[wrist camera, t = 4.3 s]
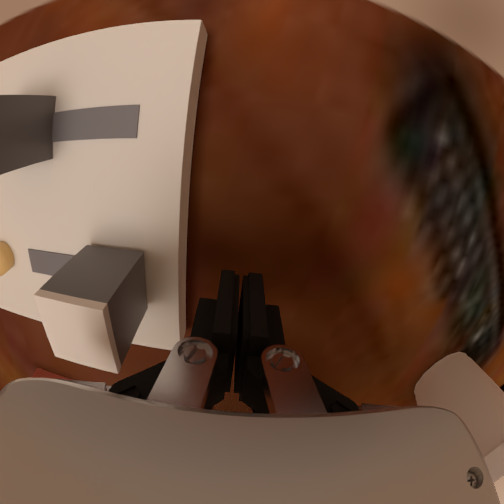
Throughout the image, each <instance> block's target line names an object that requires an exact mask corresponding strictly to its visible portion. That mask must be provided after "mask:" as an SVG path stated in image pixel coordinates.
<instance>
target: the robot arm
mask: <svg viewBox="0 0 504 504" xmlns="http://www.w3.org/2000/svg"><path fill="white" fill-rule="evenodd" d="M239 276H240V275H235V271H230V270H222V272H221V278H220V285H219V291H218V298H217V300H215V299H207V298H200V299H199V303H198V307H197V311H196V315H195V320H194V324H193V328H192V332H191V337H187V338H184V339H181V340H180V341H178V342H177V343H176V344H175V345H174V347H173V349H172V351H171V353H170V355H169V357H168V359H167V360H166V361H163V362H161V363H159V364H157V365H155V366H152V367H150V368H148V369H146V370H144V371H141V372H139V373H137V374H134V375H132V376H130V377H127V378H125V379H123V380H120V381H118V382H117V383H115V384H113V385H112V386H106V383H100V382H87V381H76V380H66V379H51V378H43V377H41V378H21V379H17V380H14V381H12V382H10V383H9V384H7V385H6V386H5V387H4V388H3V389H2V390H1V391H0V504H500V501H499V498H498V495H497V492H496V489H495V486H494V483H493V481H492V478H491V475H490V473H489V470H488V468H487V465H486V463H485V460H484V458H483V456H482V454H481V452H480V449H479V447H478V445H477V443H476V441H475V439H474V438H473V436H472V434H471V432H470V431H469V429H468V428H467V426H466V425H465V423H464V422H463V421H462V419H461V418H460V417H459V416H458V415H457V414H455V413H454V412H452V411H450V410H447V409H444V408H440V407H434V406H419V405H416V406H386V405H374V404H364V403H362V404H361V406H357V405H356V403H354V402H353V401H352V400H350V399H349V398H347V397H345V396H344V395H342V394H341V393H339V392H337V391H336V390H334V389H333V388H331V387H329V386H328V385H326V384H325V383H323V382H321V381H320V380H318V379H317V378H315V377H314V376H312V375H311V373H310V371H309V369H308V366H307V364H306V362H305V359H304V357H303V356H302V354H301V353H300V352H299V351H298V350H296V349H295V348H293V347H291V346H287V345H285V341H284V335H283V329H282V323H281V317H280V311H279V307H278V306H276V305H265V296H264V287H263V278H262V274H258V273H249V274H248V276H245V275H244V276H243V282H242V290H241V297H240V305H239V312H238V303H239ZM234 357H235V378H234V393H239V401H243V402H244V403H245V404H246V405H248V406H249V413H241V412H228V411H217V410H213V408H214V405H215V404H217V403H218V402H220V401H222V400H223V399H224V393H225V392H230V386H231V379H232V371H233V364H234Z"/></svg>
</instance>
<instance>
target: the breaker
mask: <svg viewBox="0 0 504 504" xmlns="http://www.w3.org/2000/svg"><path fill="white" fill-rule="evenodd" d="M34 298H35V301H36V304H37V308H38V311H39V314H40V317H41V320H42V323H43V326H44V328H45V331H46V334H47V337H48V339H49V342H50V344H51V347H52V349H53V352H54V354H55V356H56V357H59V358H62V359H66V360H69V361H72V362H75V363H79V364H82V365H86V366H89V367H93V368H97V369H101V370H104V371H108V372H113V373H117V374H118V373H119V371H120V368H121V366H122V364H123V361H124V359H125V357H126V354H127V352H128V350H129V348H130V345H131V343H132V341H133V339H134V336H135V334H136V332H137V330H138V328H139V326H140V323H141V321H142V319H143V317H144V315H145V313H146V311H147V309H148V303H147V292H146V278H145V260H144V251H135V250H127V249H118V248H109V247H101V246H92V245H86V246H85V247H84V248H83V249H81V250H80V251H79V252H78V253H77V254H76V255H75V256H74V257H72V258H71V259H70V260H69V261H68V262H67V263H66V264H65V265H64V266H63V267H62V268H60V269H59V270H58V271H57V272H56V273H55V274H54V275H53V276H52V277H51V278H50V279H49V280H48V281H47V282H46V283H45V284H44V285H43V286H42V287H41V288H40V289H39V290H38V291H37V292H36V293H35V294H34Z"/></svg>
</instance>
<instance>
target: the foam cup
mask: <svg viewBox="0 0 504 504" xmlns="http://www.w3.org/2000/svg"><path fill="white" fill-rule="evenodd" d="M414 394H415V396H416V397H415V399H416V402H417V405H419V406H434V407H440V408H444V409H447V410H450V411H452V412H454V413H455V414H457V415H458V416H459V417H460V418H461V419H462V421H463V422H464V423H465V425H466V426H467V428H468V429H469V431H470V432H471V434H472V436H473V438H474V439H475V441H476V443H477V445H478V447H479V449H480V452H481V454H482V456H483V458H484V460H485V463H486V465H487V468H488V470H489V473H490V475H491V478H492V481H493V483H494V482H495V481H497V480H498V479H499V478H501V477H502V476H503V475H504V392H503V391H502V390H501V389H500V388H499V386H498V385H497V384H496V383H495V382H494V381H493V380H492V379H491V378H490V377H489V376H488V375H487V374H486V373H485V372H484V371H483V370H482V369H481V368H480V367H479V366H478V365H477V364H476V363H475V362H474V361H473V360H472V359H471V358H470V357H468V356H467V354H466V353H463V352H456V353H453V354H450V355H447V356H446V357H444V358H443V359H441V360H439V361H438V362H436V363H435V364H434V365H433V366H432V367H431V368H429V369H428V370H427V371H426V372H425V373H424V374H423V375H422V377H421V378H420V379H419V381H418V382H417V383H416V386H415V390H414Z"/></svg>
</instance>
